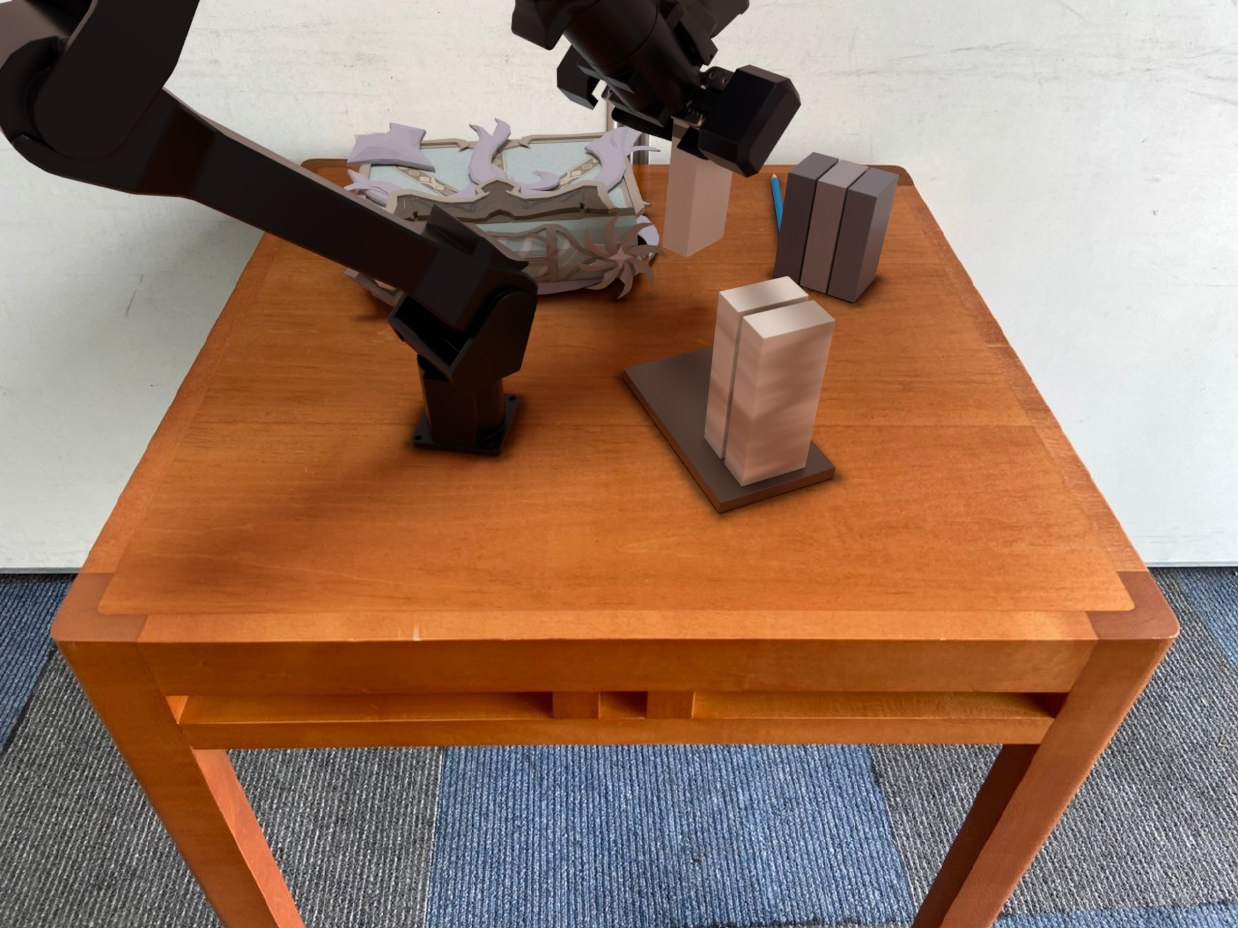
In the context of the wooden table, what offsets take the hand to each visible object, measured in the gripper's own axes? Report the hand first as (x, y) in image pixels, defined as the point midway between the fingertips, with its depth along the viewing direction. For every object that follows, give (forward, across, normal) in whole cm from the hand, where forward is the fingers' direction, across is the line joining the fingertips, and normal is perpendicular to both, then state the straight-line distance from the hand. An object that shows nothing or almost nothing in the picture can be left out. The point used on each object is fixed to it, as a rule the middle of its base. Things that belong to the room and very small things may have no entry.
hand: (718, 151), depth 69 cm
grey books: (+18, -4, +1) cm, 19 cm away
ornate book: (+6, +19, +14) cm, 24 cm away
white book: (+4, 0, +6) cm, 7 cm away
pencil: (+22, +6, -3) cm, 23 cm away
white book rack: (+2, -12, +18) cm, 21 cm away
